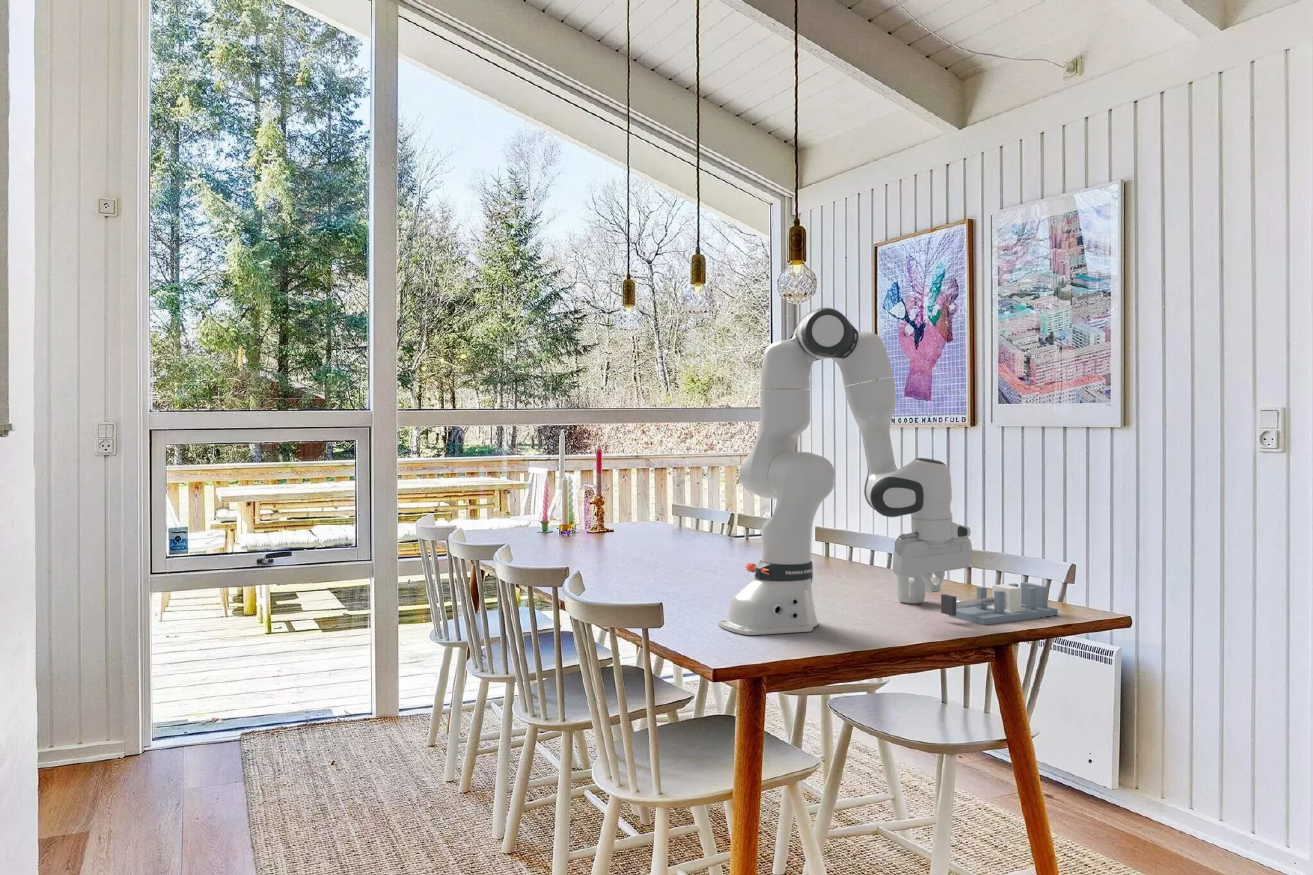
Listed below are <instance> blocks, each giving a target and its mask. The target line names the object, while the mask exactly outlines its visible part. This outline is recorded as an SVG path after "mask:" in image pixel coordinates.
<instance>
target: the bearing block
mask: <svg viewBox="0 0 1313 875" xmlns="http://www.w3.org/2000/svg"><path fill="white" fill-rule="evenodd" d="M1008 585H1010V586H1015V587H1019V584H1018V583H1008ZM1020 588H1022V598H1021V610H1018V611H1007V607H1004V600H1005V591H994V607H992V605H987V606H979V607H970V608H962V609H956V615H955V616H951V615H948V616H949V617H952V618H956V619H960V620H963V621H968V622H971V623H975V624H978V625H982V626H985V625H993V624H1002V623H1010V622H1016V621H1026V620H1033V619H1041V618H1040V617H1042V618H1047V617H1046V616H1050V617H1054V616H1053V615H1057V614H1058V615H1059V612H1058V610H1059V609H1058V608H1054V607H1050V606H1049V605H1048V593H1049V592H1048V591H1049V590H1048V588H1049V586H1045V585H1041V584H1036V583H1031V582H1026V581H1025V582H1024V581H1023V582H1020ZM987 594H988V587H985V586H977V587H976V599H979V598H988V597H987V596H988V595H987Z"/></svg>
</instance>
